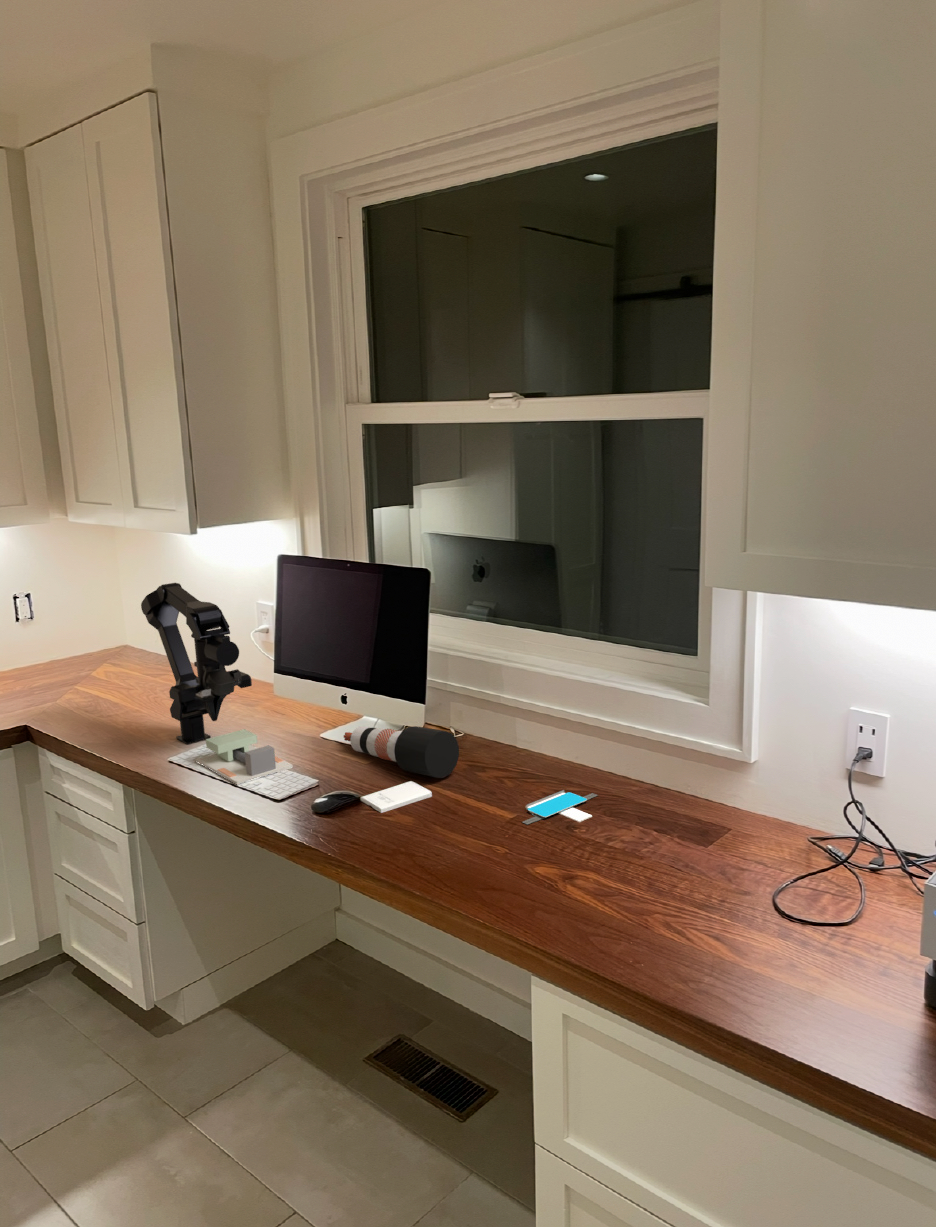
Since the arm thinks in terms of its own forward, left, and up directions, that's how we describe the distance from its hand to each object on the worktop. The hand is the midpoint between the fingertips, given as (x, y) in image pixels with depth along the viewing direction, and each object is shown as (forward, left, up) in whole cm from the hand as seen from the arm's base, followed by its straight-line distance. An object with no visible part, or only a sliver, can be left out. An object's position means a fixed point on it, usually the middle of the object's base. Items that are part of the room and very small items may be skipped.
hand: (214, 720), depth 223 cm
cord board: (+13, 0, -8) cm, 15 cm away
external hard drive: (+54, +13, -9) cm, 56 cm away
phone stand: (+83, +33, -9) cm, 90 cm away
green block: (+8, 0, -7) cm, 11 cm away
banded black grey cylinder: (+37, +25, -8) cm, 46 cm away
